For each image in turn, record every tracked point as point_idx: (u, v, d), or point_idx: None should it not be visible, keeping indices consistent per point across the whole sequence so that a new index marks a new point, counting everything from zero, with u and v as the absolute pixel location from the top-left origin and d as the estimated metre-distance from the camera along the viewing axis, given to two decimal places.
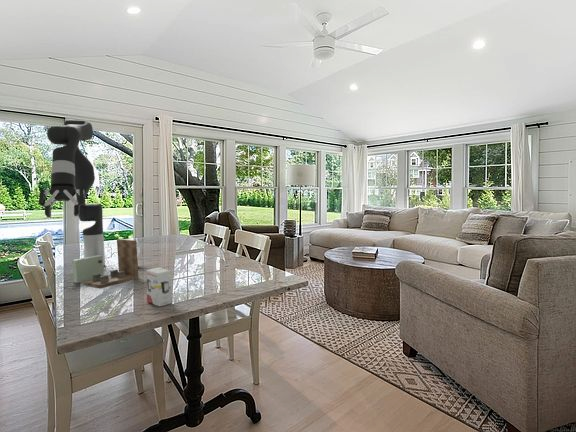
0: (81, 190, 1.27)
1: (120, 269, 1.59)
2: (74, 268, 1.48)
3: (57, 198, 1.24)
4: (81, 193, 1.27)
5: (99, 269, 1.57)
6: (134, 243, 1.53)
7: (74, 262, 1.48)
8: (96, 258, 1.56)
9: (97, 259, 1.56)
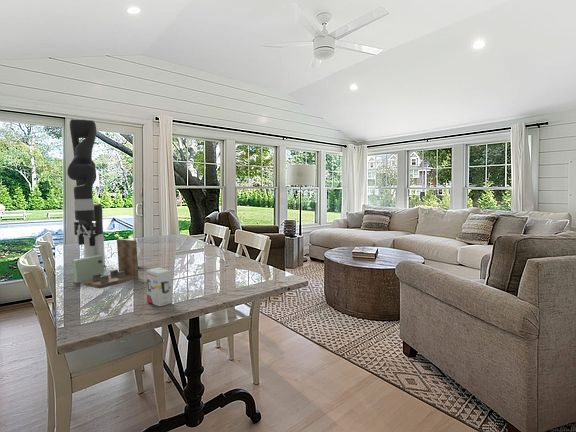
0: (91, 225, 1.48)
1: (120, 269, 1.59)
2: (74, 268, 1.48)
3: (81, 230, 1.52)
4: (91, 227, 1.48)
5: (99, 269, 1.57)
6: (134, 243, 1.53)
7: (74, 262, 1.48)
8: (96, 258, 1.56)
9: (97, 259, 1.56)
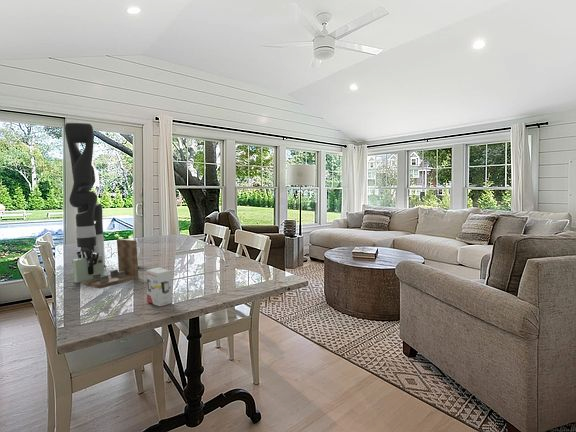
0: (92, 256, 1.49)
1: (120, 269, 1.59)
2: (74, 268, 1.48)
3: None
4: (91, 258, 1.50)
5: (99, 268, 1.57)
6: (134, 243, 1.53)
7: (74, 262, 1.48)
8: None
9: None
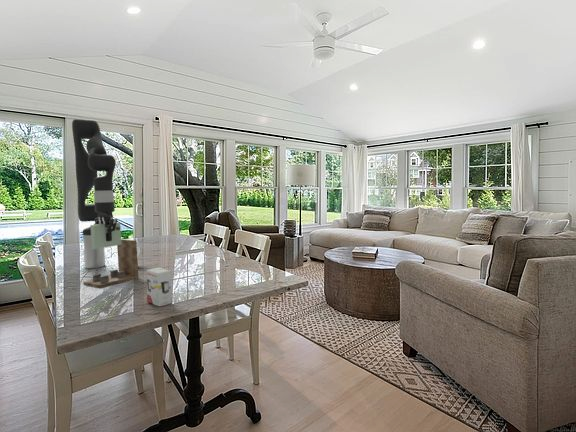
0: (111, 221, 1.44)
1: (120, 269, 1.59)
2: (92, 233, 1.43)
3: None
4: (110, 223, 1.44)
5: (117, 236, 1.51)
6: (134, 243, 1.53)
7: (92, 227, 1.42)
8: None
9: None
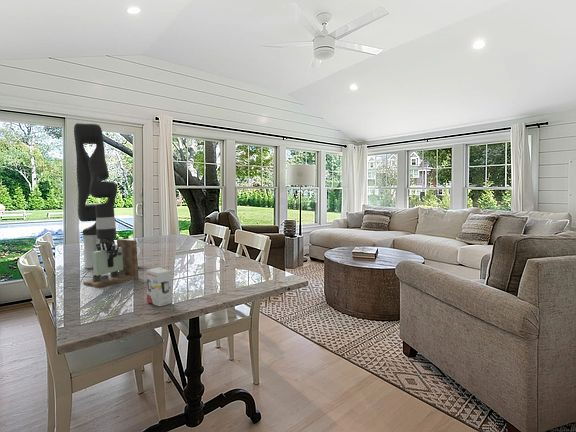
0: (112, 248, 1.45)
1: None
2: (94, 260, 1.44)
3: None
4: (112, 250, 1.45)
5: (119, 261, 1.52)
6: (134, 243, 1.53)
7: (94, 254, 1.43)
8: None
9: None
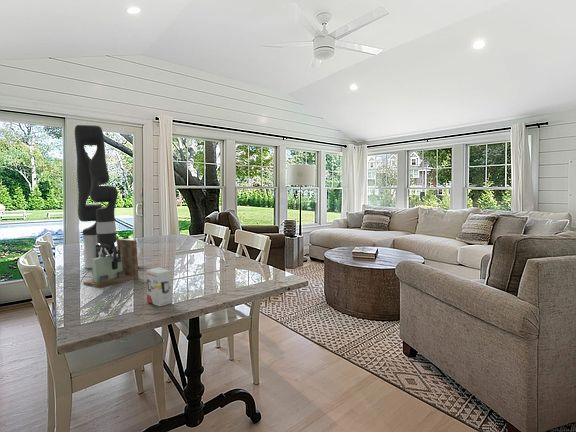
0: (113, 248, 1.44)
1: None
2: (93, 267, 1.44)
3: (103, 253, 1.49)
4: (114, 251, 1.44)
5: (118, 268, 1.52)
6: (134, 243, 1.53)
7: (93, 261, 1.43)
8: None
9: None
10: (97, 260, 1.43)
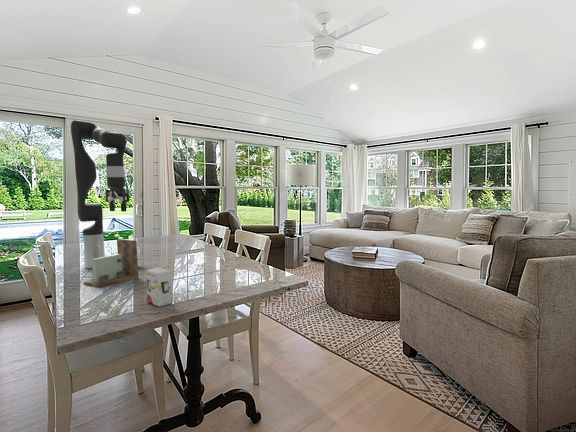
0: (122, 191, 1.54)
1: None
2: (93, 267, 1.44)
3: (113, 197, 1.58)
4: (123, 193, 1.54)
5: (118, 268, 1.52)
6: (134, 243, 1.53)
7: (93, 261, 1.43)
8: (116, 257, 1.51)
9: (116, 258, 1.51)
10: (97, 260, 1.43)
